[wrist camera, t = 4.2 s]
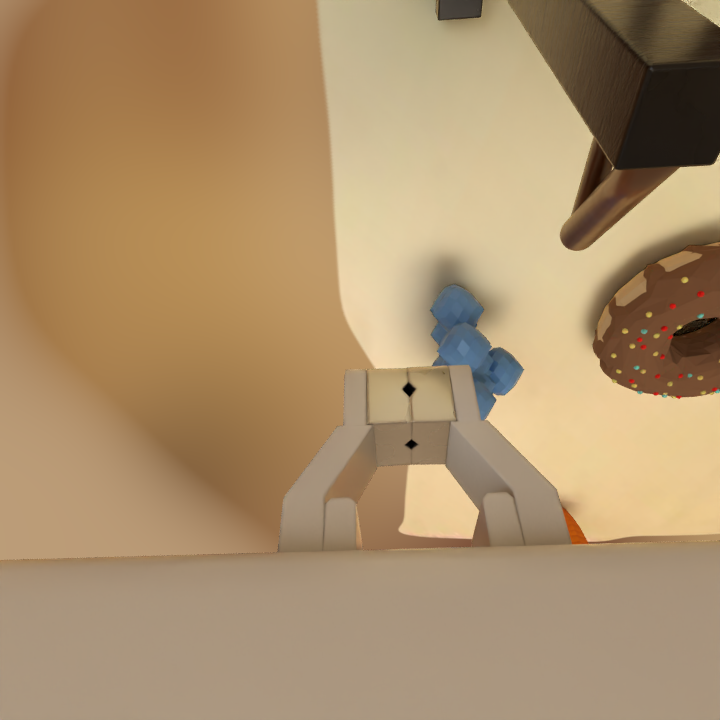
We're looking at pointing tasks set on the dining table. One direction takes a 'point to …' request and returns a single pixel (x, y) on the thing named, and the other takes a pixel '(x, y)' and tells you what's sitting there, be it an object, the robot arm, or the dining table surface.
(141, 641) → the robot arm
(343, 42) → the dining table surface
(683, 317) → the donut
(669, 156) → the rail
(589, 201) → the hanger
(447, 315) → the grapes
